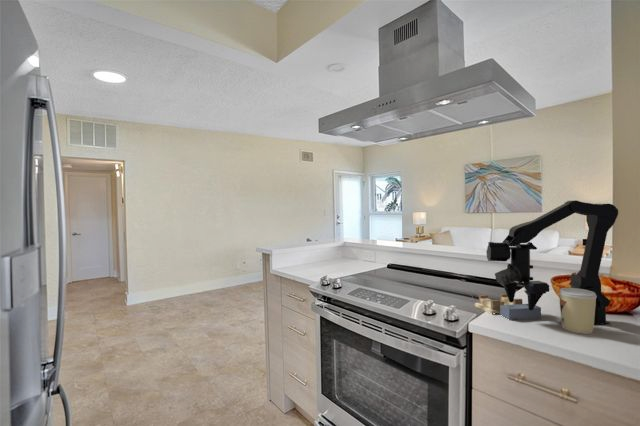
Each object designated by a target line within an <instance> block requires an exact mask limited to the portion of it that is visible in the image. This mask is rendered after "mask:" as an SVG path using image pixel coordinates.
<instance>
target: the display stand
mask: <svg viewBox="0 0 640 426" xmlns="http://www.w3.org/2000/svg"><path fill="white" fill-rule="evenodd" d="M515 304H523V298H514V300H513V302H509V299H508V296H507V294H506V293H500V294H499V299H491V298H490V297H489V296H488V294H478V302H474V306H475V307H476V308H479V309H481V310H482V311H483V312H486V313H488V312H490V313H500V305H515ZM490 313H489V314H490Z"/></svg>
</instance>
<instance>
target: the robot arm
mask: <svg viewBox="0 0 640 426" xmlns="http://www.w3.org/2000/svg"><path fill="white" fill-rule="evenodd" d="M574 214H579V215H581V216H585V218H586V219H585V220H586V224H587V227H588V231H587V237H586V241H585V247H584V250H583V251H584V252H583V255H582V261H581V266H580V270H578V272H577V273H571V275H570V276H571V277H570V281H569V283H568V285H570V288H578V289H585V290H589V291H592V292H594V293H595V294H596V296H597V298H596V306H595V318H594V326H596V325H608V324H611V322H610V321H608V320H607V308H608V307H609V306H610V304H611V299H609V298H608V297H606V295H605V294H603V293H602V281H601V279H600V278H601V277H600V275H599V273H600V270H601V269H600V268H601V263H602V259H603V253H604V249H605V245H606V241H607V235H608V232H609V230H610V229H611V228H612V227H613V226H614V224H616V221H617V218H618V216H619V209H618V208H617V207H616V205H614V204H611V203H591V202H585V201H584V202H583V201H579V200H567V201H565V202H564V203H562V204H561V205H559V206H557V207H555V208H553V209H552V210H550V211H548V212H546V213H544V214H543V215H540V216H538V217H537V218H534V219H533V220H530V221H526V222H523V223H518V224H517V225H514V226H512V227H511V228H510V229H509V232H508V235H507V236H506V237H505V238H504V239H503V241H501V242H495V241H488V242H487V243H488V245H487V246H486V247H487V249H486V251H485V252H486V253H485V254H486V258H487V261H488V262H507V261H508V260H510V263H507V267H506V268H505V269H502V270H500V271H498V272H495V273H494V276H495V281H496V282H497V283H498V284H500V285H501V286H503V289H504V291H505V294H507V296H508V299H509V302H513V300H514V299H515V296H516V292H517V286H518V284H519V285H521V286H524V289H525V290H524V291H523V292H524V293H525V294H526V295H527V304H528V307H529V310H533V309H534V307H535V305H536V306H537V303H538V302H539V300H540V299H541V298H542V296H543V295H544V294H547V293H549V292H550V285H549V283H548V282H544V281H540V280H534V277H533V276H531V270H532V269H534V265H533V264H531V250H538V247H536V246H535V244H533V243H532V242H531V241H532V240H533V239H534V238H536V237H537V236H538V235H539V233H540V232H542V231H543V230H545V229H547V228H549V227H551V226H552V225H555V224H556V223H559V222H560V221H562V220H564V219H566V218H568V217H570V216H571V215H574Z"/></svg>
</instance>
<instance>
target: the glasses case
mask: <svg viewBox="0 0 640 426" xmlns="http://www.w3.org/2000/svg"><path fill="white" fill-rule="evenodd" d="M499 315H502V316H503V317H502V316H501V317H502V318H504V317H505V318H504V319H506V318H507V319H506V320H508V319H509V320H508V321H513V320H512V319H520V320H533V319H541V318H542V307H541V306H538V305H537V304H536V305H535V307H534V309H533V310H529V307H528V303H522V304H515V305H500V314H499ZM532 318H533V319H532Z"/></svg>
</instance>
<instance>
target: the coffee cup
mask: <svg viewBox="0 0 640 426" xmlns="http://www.w3.org/2000/svg"><path fill="white" fill-rule="evenodd" d="M558 294H559V295H558V296H559V309H560V310H559V311H560V319H561V320H560V321H561V327H562V328H563V330H567V331H569V332H572V333H576V334H584V335H585V334H587V335H590V334H592V333H593V332H594V329H595V325H594V318H595V306H596V298H597V296H596V294H595V293H594V292H592V291H589V290H585V289H578V288H571V287H561V288H559V290H558ZM593 334H594V333H593Z"/></svg>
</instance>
